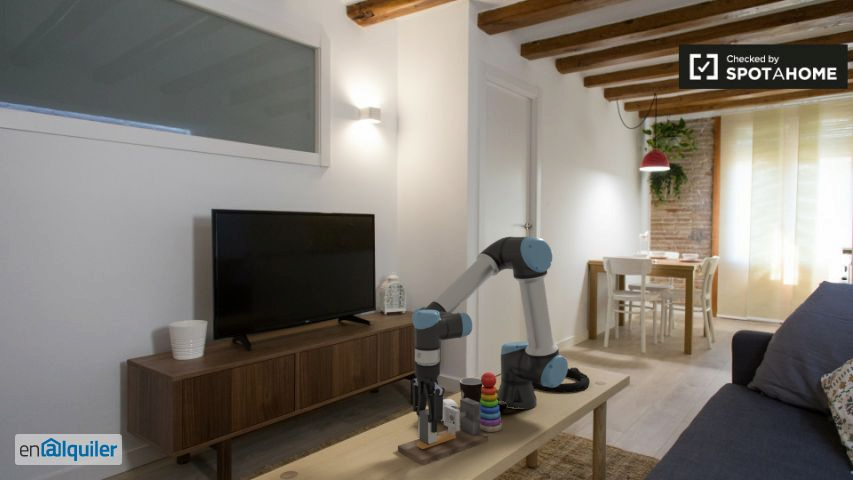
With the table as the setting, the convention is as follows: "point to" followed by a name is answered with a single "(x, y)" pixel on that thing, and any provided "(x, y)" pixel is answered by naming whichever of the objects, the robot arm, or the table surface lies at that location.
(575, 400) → the table surface
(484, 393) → the stacking toy
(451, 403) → the giant panda
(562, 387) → the cable lock
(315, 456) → the table surface
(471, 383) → the coffee mug
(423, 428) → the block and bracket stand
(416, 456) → the board
